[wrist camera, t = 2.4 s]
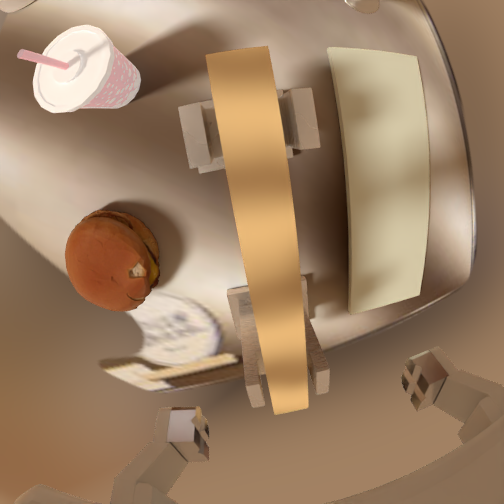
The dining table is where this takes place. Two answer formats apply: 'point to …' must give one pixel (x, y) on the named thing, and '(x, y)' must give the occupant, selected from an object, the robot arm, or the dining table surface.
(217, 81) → the bar
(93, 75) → the beverage cup
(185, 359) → the dining table surface
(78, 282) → the burger
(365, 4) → the goblet set
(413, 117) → the mat
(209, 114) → the rack
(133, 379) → the dining table surface
